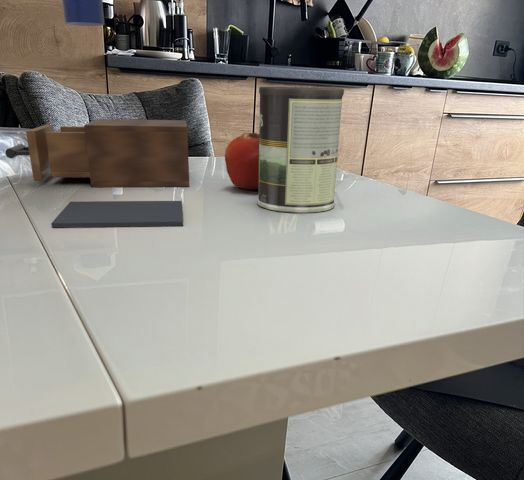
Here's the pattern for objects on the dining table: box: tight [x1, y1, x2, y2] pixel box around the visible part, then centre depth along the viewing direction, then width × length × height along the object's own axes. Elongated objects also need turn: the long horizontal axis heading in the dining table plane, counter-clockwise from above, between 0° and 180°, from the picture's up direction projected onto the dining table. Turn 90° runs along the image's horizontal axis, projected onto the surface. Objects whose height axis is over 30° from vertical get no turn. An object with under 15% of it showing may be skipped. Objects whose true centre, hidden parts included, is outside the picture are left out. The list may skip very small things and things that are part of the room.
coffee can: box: [257, 86, 345, 214], centre depth 69 cm, size 10×10×14 cm
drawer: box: [4, 124, 90, 181], centre depth 86 cm, size 18×13×7 cm
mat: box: [50, 200, 184, 229], centre depth 65 cm, size 14×12×1 cm
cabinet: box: [83, 118, 190, 188], centre depth 87 cm, size 15×15×9 cm
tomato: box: [224, 132, 259, 191], centre depth 81 cm, size 9×9×8 cm
